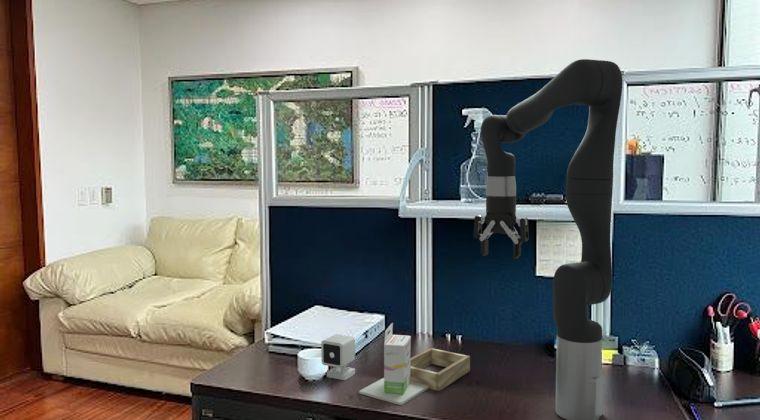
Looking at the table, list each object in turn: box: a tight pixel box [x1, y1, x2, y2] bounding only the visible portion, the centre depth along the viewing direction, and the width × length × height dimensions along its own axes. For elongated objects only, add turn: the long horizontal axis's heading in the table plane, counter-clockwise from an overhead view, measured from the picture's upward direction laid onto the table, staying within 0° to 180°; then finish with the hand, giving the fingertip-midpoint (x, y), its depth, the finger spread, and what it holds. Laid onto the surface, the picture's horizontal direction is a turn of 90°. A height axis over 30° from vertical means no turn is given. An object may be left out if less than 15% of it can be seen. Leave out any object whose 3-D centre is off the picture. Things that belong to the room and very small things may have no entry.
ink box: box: [383, 322, 412, 394], centre depth 141 cm, size 9×5×15 cm, turn 165°
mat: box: [358, 377, 430, 406], centre depth 142 cm, size 12×14×1 cm
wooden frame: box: [410, 347, 471, 392], centre depth 150 cm, size 12×16×4 cm
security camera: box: [320, 333, 356, 381], centre depth 150 cm, size 6×7×10 cm
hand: (500, 256), depth 151 cm, fingers open, 8 cm apart
